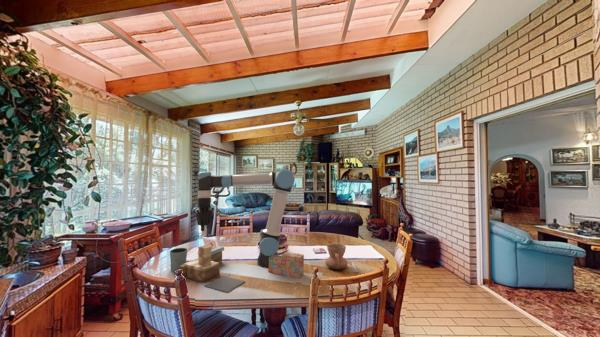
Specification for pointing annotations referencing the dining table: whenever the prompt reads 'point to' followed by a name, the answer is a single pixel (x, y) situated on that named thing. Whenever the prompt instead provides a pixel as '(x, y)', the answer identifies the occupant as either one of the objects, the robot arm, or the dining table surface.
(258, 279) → the dining table surface
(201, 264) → the lid
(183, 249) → the grey cup
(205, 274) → the brown wooden open box
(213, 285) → the mat
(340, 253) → the ceramic jug
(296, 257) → the brown patterned box
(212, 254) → the light grey bar
